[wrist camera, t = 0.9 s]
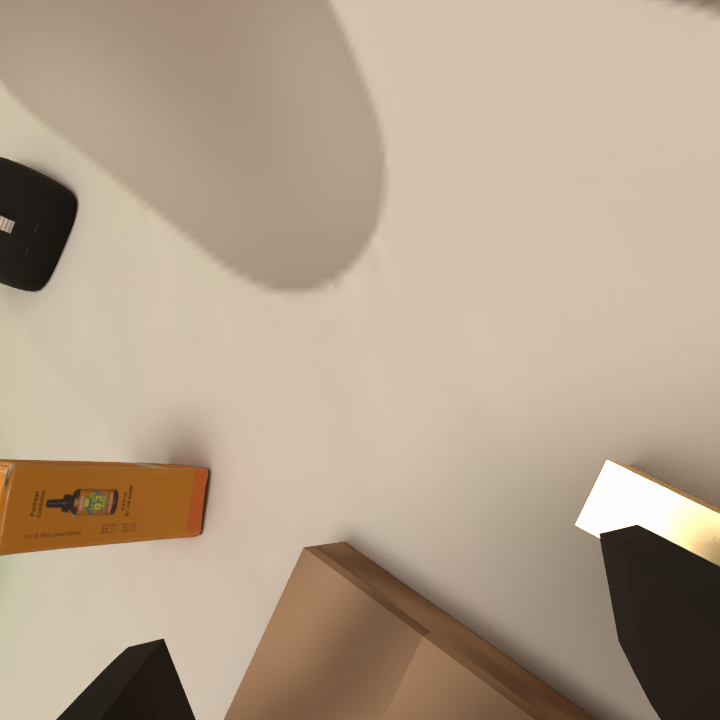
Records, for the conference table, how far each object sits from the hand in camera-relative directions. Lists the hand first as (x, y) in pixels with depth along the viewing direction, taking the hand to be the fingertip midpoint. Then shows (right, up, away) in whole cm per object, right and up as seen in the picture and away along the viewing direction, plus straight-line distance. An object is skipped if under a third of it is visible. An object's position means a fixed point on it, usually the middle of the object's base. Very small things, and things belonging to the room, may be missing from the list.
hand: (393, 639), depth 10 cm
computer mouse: (-23, +14, +33) cm, 43 cm away
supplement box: (-9, -2, +21) cm, 23 cm away
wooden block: (+10, -1, +10) cm, 15 cm away
